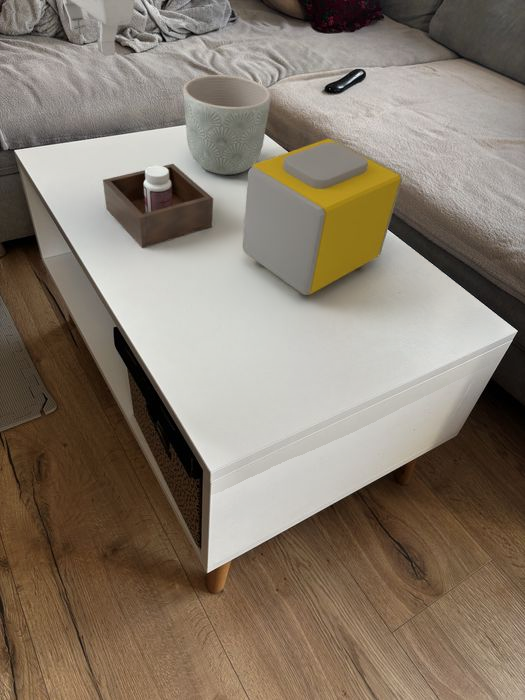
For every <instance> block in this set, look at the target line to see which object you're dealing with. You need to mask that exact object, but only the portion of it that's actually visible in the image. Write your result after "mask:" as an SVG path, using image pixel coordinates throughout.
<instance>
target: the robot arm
mask: <svg viewBox="0 0 525 700" xmlns="http://www.w3.org/2000/svg"><path fill="white" fill-rule="evenodd" d="M62 4H63V6H64V9H65V12H66V14H67V17H68V22H69V29H70V31H71V32H72V33H74V34H75V35H79V36H80V35H85V34H86V33H87V27H86V26H87V25H86V20H85V19H84V16H83V13H82V10H83V11H85V12H86V13H88V14H89V15H90V16H92V17H93V18H95V19H96V20H97V26H98V28H99V38H97V39H96V40H97V49H98V52H100V53H101V54H102V55H103V56H105V57H110V56H114V55H115V54H116V43H115V42H116V38H117V33H118V29H119V26H125V25H130V24H131V23H132V20H133V17H134V13H135V0H62Z"/></svg>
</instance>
